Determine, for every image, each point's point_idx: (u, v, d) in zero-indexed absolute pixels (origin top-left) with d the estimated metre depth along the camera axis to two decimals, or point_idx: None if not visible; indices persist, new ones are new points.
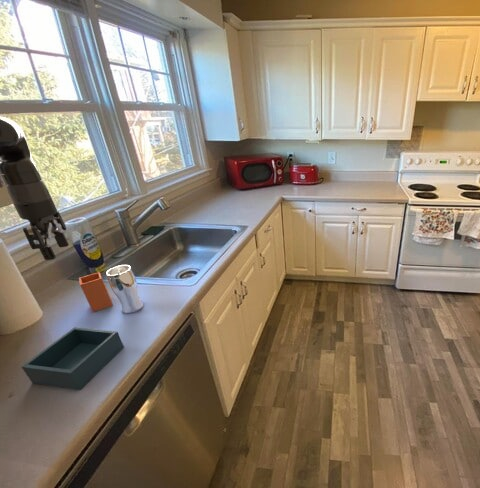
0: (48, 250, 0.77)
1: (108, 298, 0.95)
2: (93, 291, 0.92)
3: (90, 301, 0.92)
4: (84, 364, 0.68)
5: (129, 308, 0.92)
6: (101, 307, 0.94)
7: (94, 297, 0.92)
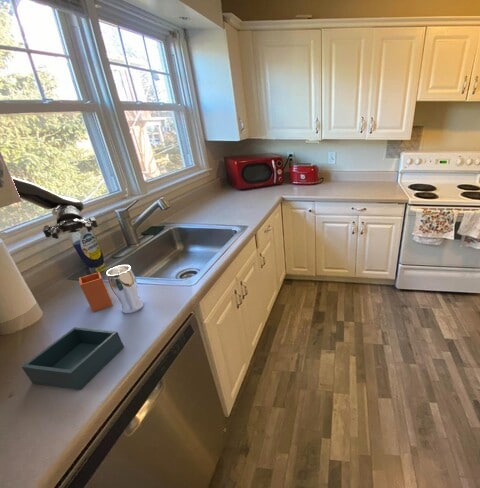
0: None
1: (108, 298, 0.95)
2: (93, 291, 0.92)
3: (90, 301, 0.92)
4: (84, 364, 0.68)
5: (129, 308, 0.92)
6: (101, 307, 0.94)
7: (94, 297, 0.92)
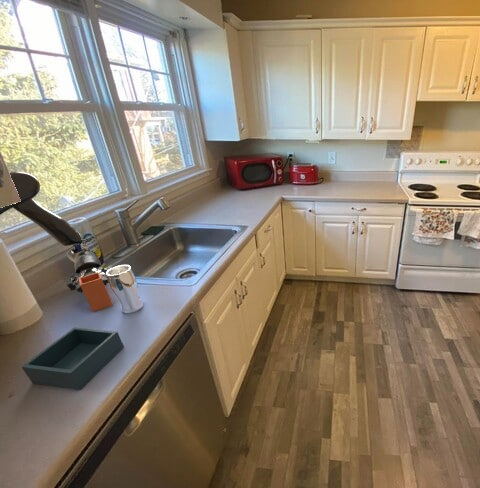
0: None
1: (108, 298, 0.95)
2: (93, 291, 0.92)
3: (90, 301, 0.92)
4: (84, 364, 0.68)
5: (129, 308, 0.92)
6: (101, 307, 0.94)
7: (94, 297, 0.92)
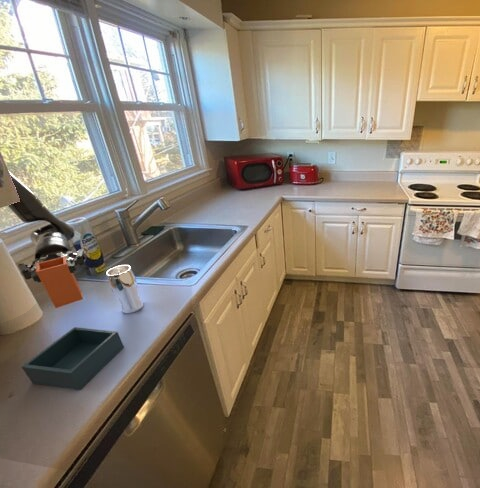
0: None
1: (76, 290, 0.74)
2: (55, 281, 0.70)
3: (51, 294, 0.70)
4: (84, 364, 0.68)
5: (129, 308, 0.92)
6: (67, 302, 0.73)
7: (57, 288, 0.71)
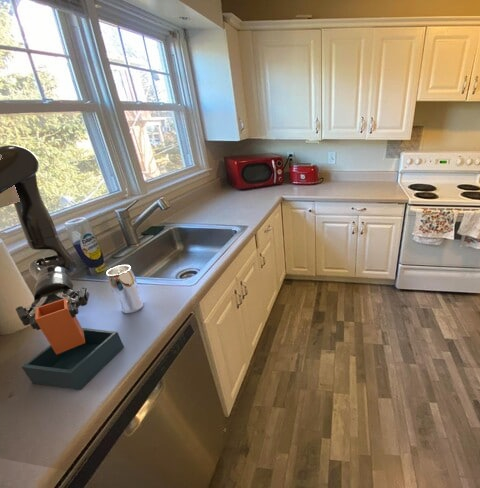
0: None
1: (78, 334, 0.69)
2: (56, 327, 0.66)
3: (52, 340, 0.66)
4: (84, 364, 0.68)
5: (129, 308, 0.92)
6: (68, 347, 0.69)
7: (57, 334, 0.67)
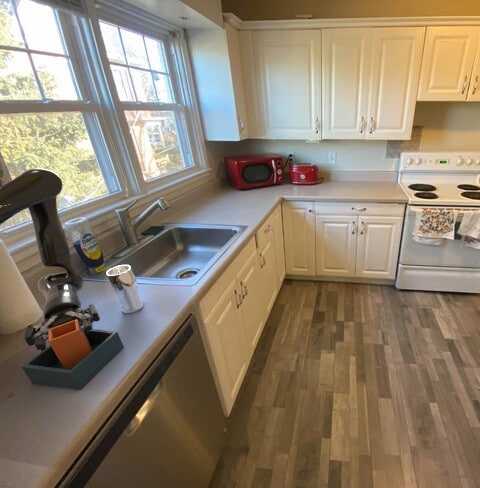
0: None
1: (88, 354, 0.72)
2: (68, 348, 0.69)
3: (63, 360, 0.69)
4: (84, 364, 0.68)
5: (129, 308, 0.92)
6: None
7: (69, 355, 0.69)
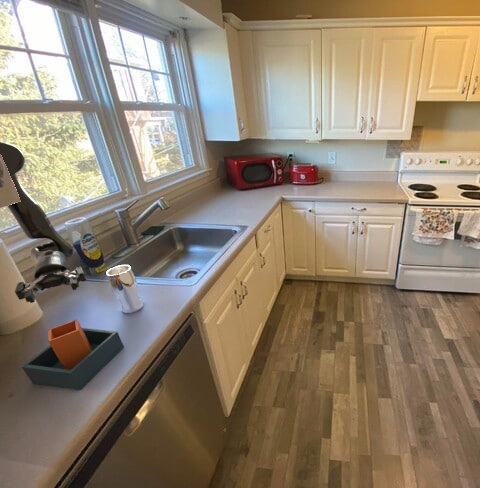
0: None
1: (88, 354, 0.72)
2: (68, 348, 0.69)
3: (63, 360, 0.69)
4: (84, 364, 0.68)
5: (129, 308, 0.92)
6: None
7: (69, 355, 0.69)
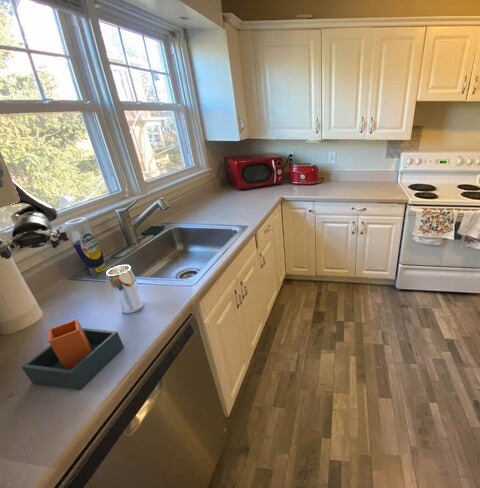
0: None
1: (88, 354, 0.72)
2: (68, 348, 0.69)
3: (63, 360, 0.69)
4: (84, 364, 0.68)
5: (129, 308, 0.92)
6: None
7: (69, 355, 0.69)
